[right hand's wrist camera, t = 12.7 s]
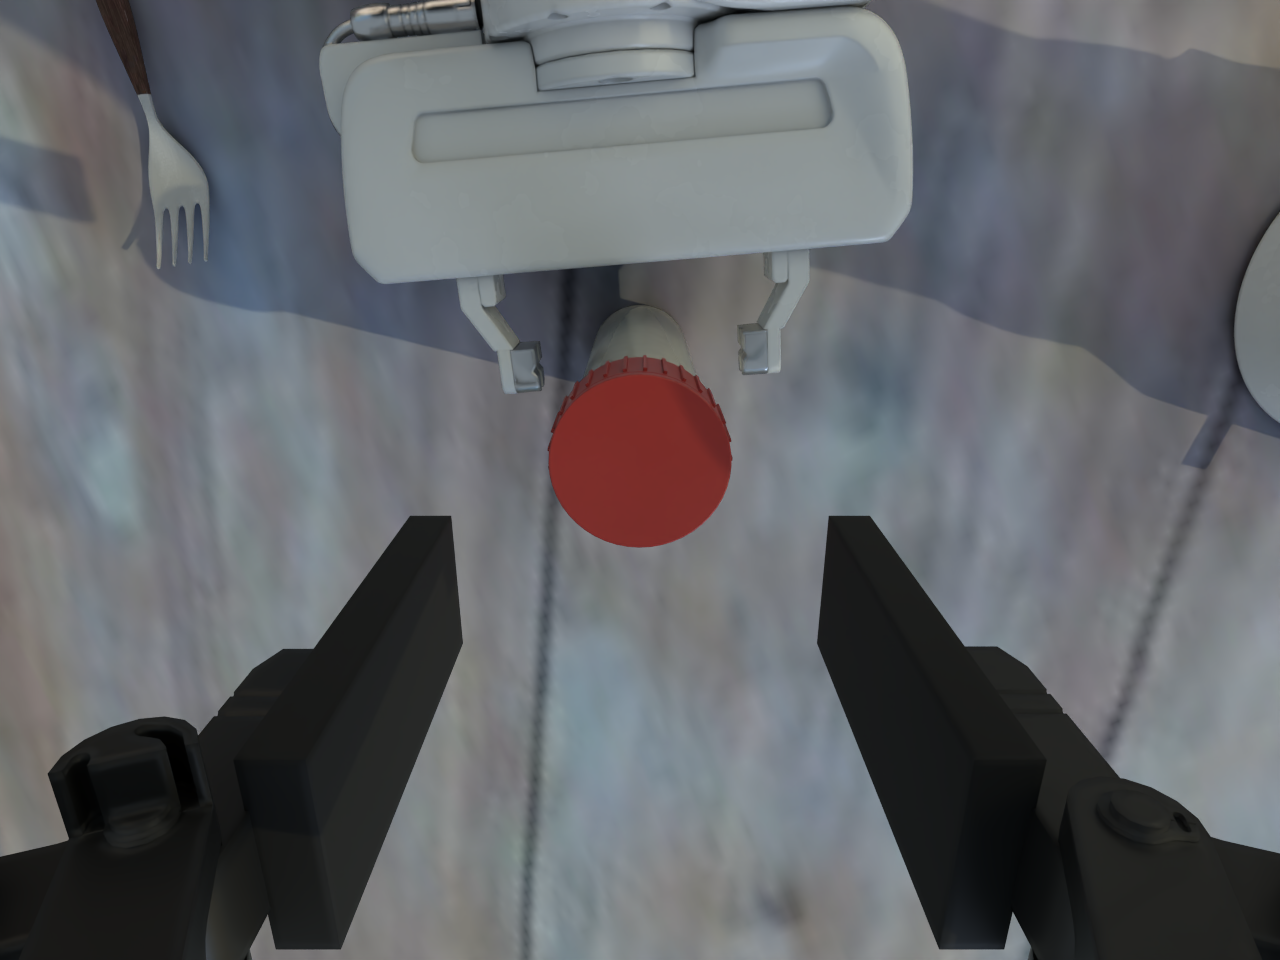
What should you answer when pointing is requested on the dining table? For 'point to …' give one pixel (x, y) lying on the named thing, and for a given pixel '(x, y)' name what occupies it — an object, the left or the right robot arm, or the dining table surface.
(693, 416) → the lid
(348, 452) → the dining table surface
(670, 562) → the dining table surface
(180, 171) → the fork
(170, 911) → the right robot arm
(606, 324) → the jar
